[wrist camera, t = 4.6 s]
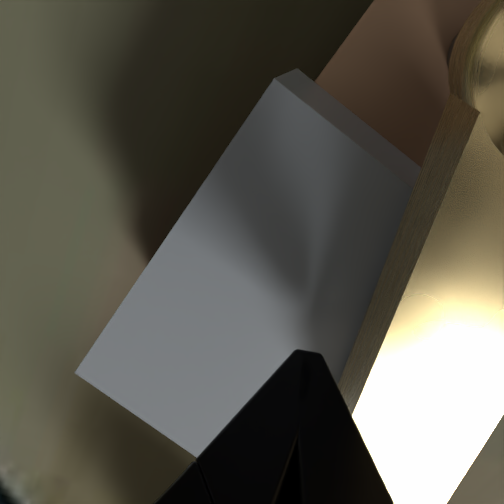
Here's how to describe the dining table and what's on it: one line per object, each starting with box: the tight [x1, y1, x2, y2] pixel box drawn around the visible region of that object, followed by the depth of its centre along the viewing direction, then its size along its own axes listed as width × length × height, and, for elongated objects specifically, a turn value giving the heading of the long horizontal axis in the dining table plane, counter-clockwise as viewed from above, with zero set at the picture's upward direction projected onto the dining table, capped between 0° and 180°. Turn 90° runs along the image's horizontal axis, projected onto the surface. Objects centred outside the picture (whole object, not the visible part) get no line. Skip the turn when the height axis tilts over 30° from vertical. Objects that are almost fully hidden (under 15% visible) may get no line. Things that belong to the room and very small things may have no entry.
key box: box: [315, 0, 482, 168], centre depth 12 cm, size 5×14×6 cm, turn 146°
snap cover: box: [75, 68, 421, 457], centre depth 11 cm, size 6×9×3 cm, turn 146°
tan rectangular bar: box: [338, 0, 504, 504], centre depth 7 cm, size 2×9×2 cm, turn 170°
